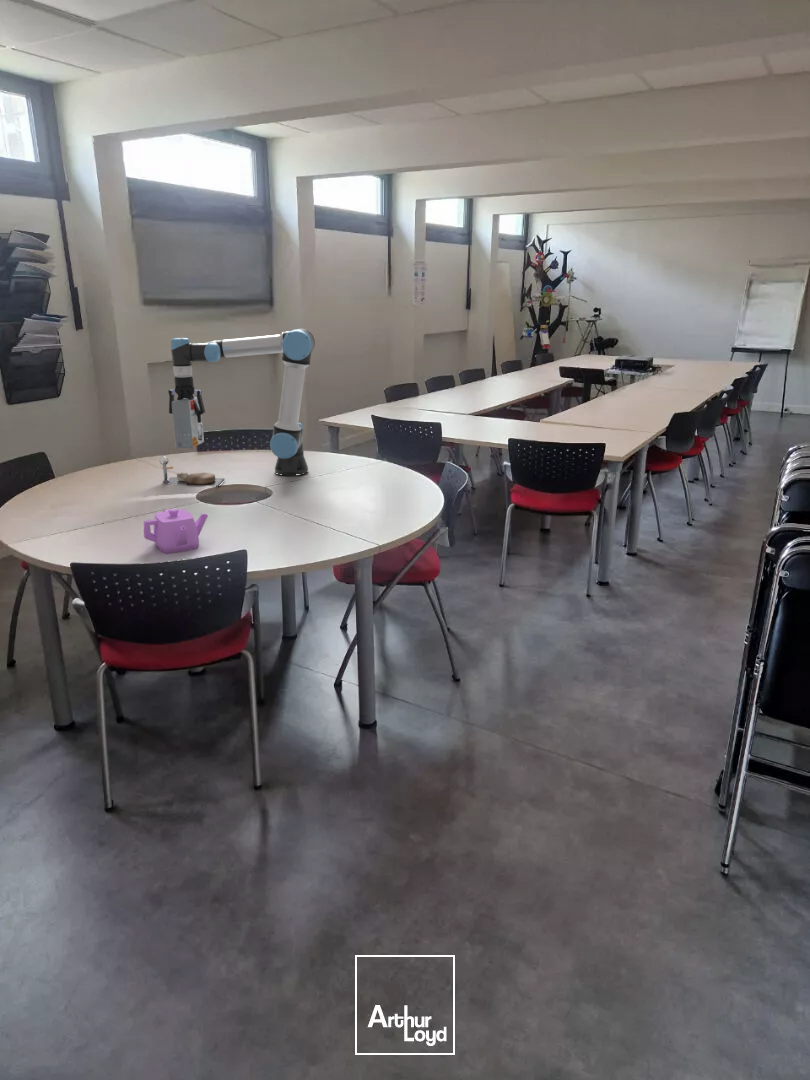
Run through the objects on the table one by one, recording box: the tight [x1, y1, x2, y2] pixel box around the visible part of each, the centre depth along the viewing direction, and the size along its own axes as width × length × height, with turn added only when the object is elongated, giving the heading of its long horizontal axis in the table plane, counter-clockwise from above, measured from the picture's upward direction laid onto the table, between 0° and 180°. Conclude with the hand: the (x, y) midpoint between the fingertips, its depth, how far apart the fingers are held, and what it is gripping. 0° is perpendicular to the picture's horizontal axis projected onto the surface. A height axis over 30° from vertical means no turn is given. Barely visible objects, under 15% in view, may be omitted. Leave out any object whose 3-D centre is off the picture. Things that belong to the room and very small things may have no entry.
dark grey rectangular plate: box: [161, 476, 225, 489], centre depth 302 cm, size 24×12×2 cm, turn 89°
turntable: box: [176, 472, 216, 484], centre depth 302 cm, size 16×12×3 cm
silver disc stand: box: [159, 456, 174, 484], centre depth 299 cm, size 5×2×11 cm, turn 108°
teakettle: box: [143, 508, 209, 555], centre depth 230 cm, size 17×17×12 cm
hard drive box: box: [172, 396, 205, 449], centre depth 303 cm, size 16×8×20 cm, turn 177°
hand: (188, 430), depth 304 cm, fingers closed on hard drive box, 7 cm apart
